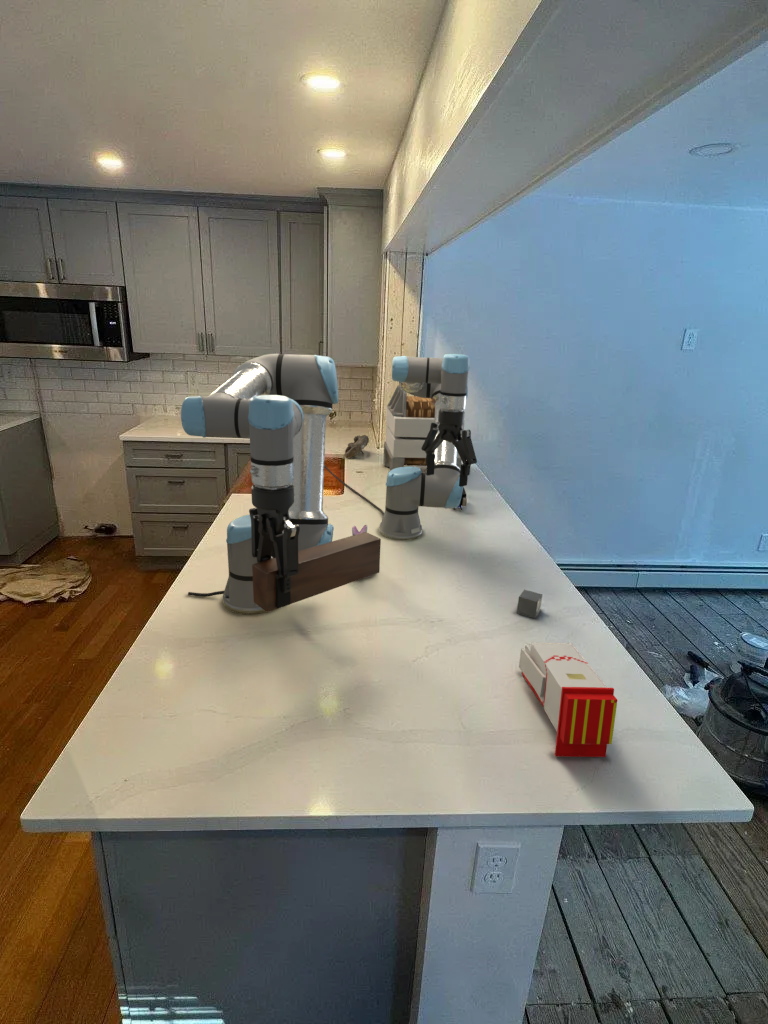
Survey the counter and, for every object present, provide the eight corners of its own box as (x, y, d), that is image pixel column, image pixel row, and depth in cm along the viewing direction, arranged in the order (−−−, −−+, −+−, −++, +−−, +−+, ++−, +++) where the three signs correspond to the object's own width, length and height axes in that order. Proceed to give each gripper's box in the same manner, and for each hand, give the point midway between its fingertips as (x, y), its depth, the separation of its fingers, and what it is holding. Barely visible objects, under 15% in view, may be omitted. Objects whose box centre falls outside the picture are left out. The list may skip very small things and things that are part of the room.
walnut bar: (253, 602, 109) (252, 564, 106) (364, 564, 127) (365, 531, 124) (267, 612, 105) (266, 573, 103) (379, 572, 123) (380, 538, 121)
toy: (567, 625, 127) (627, 695, 97) (561, 680, 130) (618, 764, 100) (513, 624, 126) (557, 694, 97) (508, 679, 129) (550, 763, 100)
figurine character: (467, 515, 225) (461, 499, 238) (469, 498, 221) (463, 482, 235) (450, 514, 224) (445, 498, 238) (452, 497, 221) (447, 482, 234)
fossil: (345, 441, 314) (366, 425, 309) (355, 454, 317) (377, 439, 312) (338, 454, 294) (361, 438, 289) (350, 469, 297) (372, 453, 292)
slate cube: (516, 613, 151) (518, 596, 149) (521, 605, 155) (524, 589, 153) (535, 618, 148) (537, 601, 147) (540, 610, 152) (542, 594, 151)
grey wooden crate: (382, 463, 289) (386, 382, 275) (445, 464, 293) (451, 384, 279) (390, 482, 257) (394, 392, 243) (460, 483, 261) (468, 394, 247)
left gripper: (229, 475, 105) (234, 588, 113) (282, 500, 93) (284, 625, 100) (264, 469, 110) (267, 578, 118) (319, 492, 98) (318, 612, 105)
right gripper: (412, 404, 170) (408, 472, 177) (476, 418, 153) (469, 492, 160) (430, 402, 175) (425, 468, 182) (494, 415, 157) (486, 488, 164)
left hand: (275, 599), depth 109 cm, fingers closed on walnut bar, 5 cm apart
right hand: (446, 480), depth 171 cm, fingers open, 13 cm apart
